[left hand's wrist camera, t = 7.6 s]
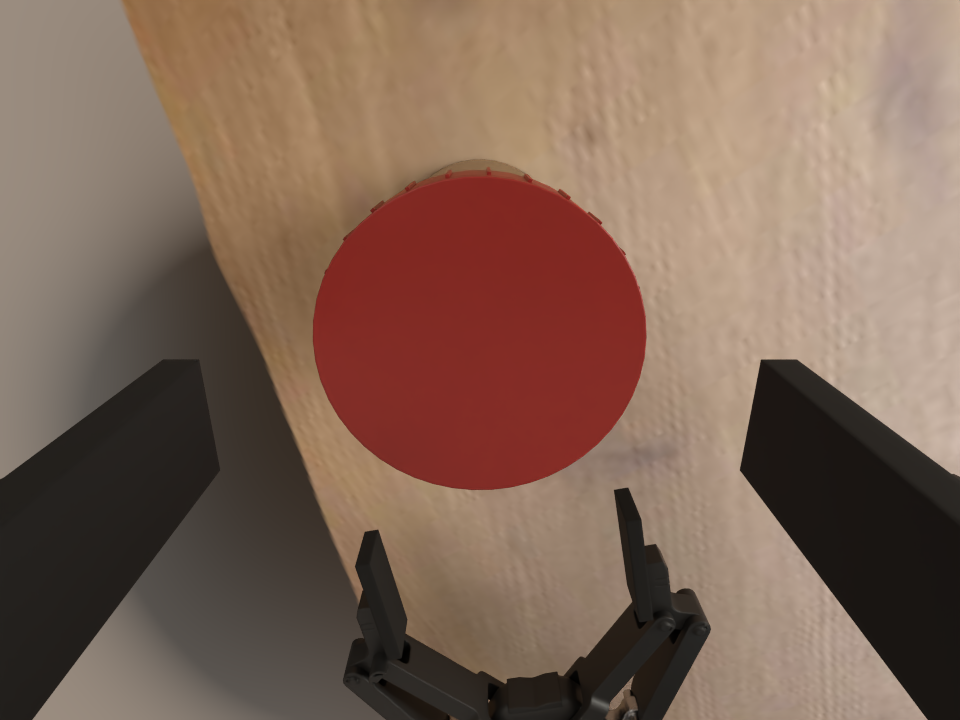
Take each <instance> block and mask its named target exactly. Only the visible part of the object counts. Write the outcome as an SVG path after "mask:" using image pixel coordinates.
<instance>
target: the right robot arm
mask: <svg viewBox="0 0 960 720" xmlns="http://www.w3.org/2000/svg"><path fill="white" fill-rule="evenodd" d="M614 494H615V501H616V508H617V515H618V522H619V529H620V537H621V544H622V551H623V558H624V565H625V572H626V580H627V586H628V589H629V592H630V595H631V598H632V601H633V602H632V603H631V604H630V605H629V606H628V608H627V609H626V610H625V611H624V612H623V614H622V615H621V616H620V617H619V618H618V620H617V621H616V622H615V623H614V625H613V626H612V627H611V628H610V629H609V631H608V632H607V633H606V634H605V635H604V637H603V638H602V639H601V640H600V641H599V643H598V644H597V645H596V646H595V647H594V649H593V650H592V651H591V652H590V653H589V655H588V656H587V657H586V658H584V657H579V658H578V659H577V660H576V662H575V663H574V664H573V665H572V666H571V668H570V669H569V670H568V671H567V673H566V674H565V675H564V676H558V672H552V673H545V674H542V675H539V676H536V677H534V678H524V677H518V678H511V679H507V683H506V684H504V683H502V682H501V681H499V680H497V679H496V678H494V677H492V676H490V675H489V674H487V673H485V672H483V671H480V672H479V673H478V674H475V673H473V672H471V671H469V670H468V669H466V668H464V667H462V666H461V665H459V664H457V663H456V662H454V661H452V660H450V659H449V658H447V657H445V656H443V655H442V654H440V653H438V652H436V651H435V650H433V649H431V648H429V647H428V646H426V645H424V644H423V643H421V642H419V641H417V640H416V639H414V638H412V637H410V636H409V635H407V634H405V632H406V625H407V617H406V614H405V611H404V608H403V604H402V601H401V598H400V595H399V592H398V589H397V586H396V583H395V580H394V577H393V574H392V571H391V568H390V564H389V561H388V558H387V555H386V552H385V549H384V546H383V543H382V540H381V537H380V534H379V531H378V530H373V531H367V532H365V533H364V537H363V540H362V544H361V547H360V551H359V554H358V558H357V561H356V565H355V568H356V571H357V573H358V576H359V579H360V582H361V585H362V588H363V590H364V591H362V595H361V599H360V603H359V607H358V611H357V620H358V623H359V625H360V628H361V630H362V634H363V636H364V639H363V638H358V639H356V640H354V641H353V643H352V646H351V650H350V654H349V658H348V662H347V666H346V670H345V674H344V678H343V683H344V684H345V686H346V687H348V688H349V689H350V690H351V691H352V692H354V693H355V694H356V695H357V696H358V697H360V698H361V699H362V700H363V701H364V702H366V703H367V704H368V705H369V706H370V707H372V708H373V709H374V710H375V711H376V712H378V713H379V714H380V715H381V716H382V717H384V718H385V719H386V720H457V719H458V720H662V719H663V717H664V715H665V714H666V712H667V710H668V708H669V706H670V704H671V703H672V701H673V699H674V697H675V695H676V694H677V692H678V690H679V688H680V686H681V684H682V683H683V681H684V679H685V677H686V675H687V673H688V672H689V670H690V668H691V666H692V664H693V662H694V661H695V659H696V657H697V655H698V653H699V652H700V650H701V648H702V646H703V644H704V642H705V641H706V639H707V637H708V635H709V633H710V630H711V628H710V625H709V623H708V621H707V618H706V616H705V614H704V612H703V610H702V607H701V605H700V603H699V601H698V599H697V597H696V594H695V592H694V591H693V590H691V589H681V590H679V591H677V593H672V592H670V584H669V574H668V568H667V566H666V563H665V561H664V559H663V556H662V554H661V551H660V550H659V548H658V547H657V545H656V544H653V545H647V546H644V538H643V530H642V522H641V518H640V515H639V513H638V510H637V508H636V505H635V503H634V501H633V498H632V496H631V493H630V491H629V488H623V489H617V490H614ZM634 674H635V675H634ZM633 676H634V678H633V681H632V685H631V690H630V689H627V690H625V691H624V692H623V695H624V699H623V700H622V701H621V704H620V706H619V707H618V708H616V709H614V710H609V704H610V702H611V700H612V699H613V698H614V697H615V696H616V695H617V694H618V692H619V691H620V690H621V689H622V688H623V687H624V686H625V685H626V683H627V682H628V681H629V680H630V679H631V678H632V677H633ZM488 699H489V700H490V701H489V703H488Z"/></svg>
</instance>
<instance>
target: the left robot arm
mask: <svg viewBox="0 0 960 720" xmlns="http://www.w3.org/2000/svg"><path fill="white" fill-rule="evenodd" d="M219 471H220V467H219V462H218V457H217V452H216V447H215V441H214V436H213V431H212V425H211V420H210V415H209V410H208V405H207V399H206V394H205V389H204V384H203V378H202V373H201V368H200V363H199V360H162V361H161V362H159V363H158V364H157V365H155V366H154V367H152V368H151V369H150V370H148V371H147V372H146V373H144V374H143V375H142V376H140V377H139V378H138V379H136V380H135V381H134V382H132V383H131V384H130V385H128V386H127V387H125V388H124V389H123V390H121V391H120V392H119V393H117V394H116V395H115V396H113V397H112V398H111V399H109V400H108V401H107V402H105V403H104V404H103V405H101V406H100V407H98V408H97V409H96V410H94V411H93V412H92V413H90V414H89V415H88V416H86V417H85V418H84V419H82V420H81V421H80V422H78V423H77V424H76V425H74V426H73V427H71V428H70V429H69V430H67V431H66V432H65V433H63V434H62V435H61V436H59V437H58V438H57V439H55V440H54V441H53V442H51V443H50V444H49V445H47V446H46V447H45V448H43V449H42V450H41V451H39V452H38V453H36V454H35V455H34V456H32V457H31V458H30V459H28V460H27V461H26V462H24V463H23V464H22V465H20V466H19V467H18V468H16V469H15V470H14V471H12V472H11V473H9V474H8V475H7V476H5V477H4V478H2V479H0V720H32V719H33V718H34V717H35V715H36V714H37V713H38V711H39V710H40V709H41V707H42V706H43V705H44V703H45V702H46V701H47V699H48V698H49V697H50V695H51V694H52V693H53V691H54V690H55V689H56V688H57V686H58V685H59V684H60V682H61V681H62V680H63V678H64V677H65V676H66V674H67V673H68V672H69V670H70V669H71V668H72V666H73V665H74V664H75V662H76V661H77V660H78V658H79V657H80V656H81V654H82V653H83V652H84V650H85V649H86V648H87V646H88V645H89V644H90V642H91V641H92V640H93V638H94V637H95V636H96V634H97V633H98V632H99V630H100V629H101V628H102V626H103V625H104V624H105V622H106V621H107V620H108V618H109V617H110V616H111V614H112V613H113V612H114V610H115V609H116V608H117V606H118V605H119V604H120V602H121V601H122V600H123V598H124V597H125V596H126V595H127V593H128V592H129V591H130V589H131V588H132V587H133V585H134V584H135V583H136V581H137V580H138V579H139V577H140V576H141V575H142V573H143V572H144V571H145V569H146V568H147V567H148V565H149V564H150V563H151V561H152V560H153V559H154V557H155V556H156V555H157V553H158V552H159V551H160V549H161V548H162V547H163V545H164V544H165V543H166V541H167V540H168V539H169V537H170V536H171V535H172V533H173V532H174V531H175V529H176V528H177V527H178V525H179V524H180V523H181V521H182V520H183V519H184V517H185V516H186V515H187V513H188V512H189V511H190V509H191V508H192V507H193V505H194V504H195V503H196V501H197V500H198V499H199V498H200V496H201V495H202V494H203V492H204V491H205V490H206V488H207V487H208V486H209V484H210V483H211V482H212V480H213V479H214V478H215V476H216V475H217V474H218V472H219ZM740 471H741V472H742V474H743V475H744V476H745V478H746V479H747V480H748V482H749V483H750V484H751V486H752V487H753V488H754V490H755V491H756V492H757V494H758V495H759V496H760V498H761V499H762V500H763V502H764V503H765V504H766V505H767V507H768V508H769V509H770V511H771V512H772V513H773V515H774V516H775V517H776V519H777V520H778V521H779V523H780V524H781V525H782V527H783V528H784V529H785V531H786V532H787V533H788V535H789V536H790V537H791V539H792V540H793V541H794V543H795V544H796V545H797V547H798V548H799V549H800V551H801V552H802V553H803V555H804V556H805V557H806V559H807V560H808V561H809V563H810V564H811V565H812V567H813V568H814V569H815V571H816V572H817V573H818V575H819V576H820V577H821V579H822V580H823V581H824V583H825V584H826V585H827V587H828V588H829V589H830V591H831V592H832V593H833V595H834V596H835V597H836V598H837V600H838V601H839V602H840V604H841V605H842V606H843V608H844V609H845V610H846V612H847V613H848V614H849V616H850V617H851V618H852V620H853V621H854V622H855V624H856V625H857V626H858V628H859V629H860V630H861V632H862V633H863V634H864V636H865V637H866V638H867V640H868V641H869V642H870V644H871V645H872V646H873V648H874V649H875V650H876V652H877V653H878V654H879V656H880V657H881V658H882V660H883V661H884V662H885V664H886V665H887V666H888V668H889V669H890V670H891V672H892V673H893V674H894V676H895V677H896V678H897V680H898V681H899V682H900V684H901V685H902V686H903V688H904V689H905V690H906V692H907V693H908V694H909V695H910V697H911V698H912V699H913V701H914V702H915V703H916V705H917V706H918V707H919V709H920V710H921V711H922V713H923V714H924V715H925V717H926V718H927V719H928V720H960V477H959V476H957V475H955V474H951V473H949V472H948V471H947V470H945V469H944V468H942V467H941V466H940V465H938V464H937V463H936V462H934V461H933V460H932V459H930V458H929V457H928V456H926V455H925V454H924V453H922V452H921V451H920V450H918V449H917V448H915V447H914V446H913V445H911V444H910V443H909V442H907V441H906V440H905V439H903V438H902V437H901V436H899V435H898V434H897V433H895V432H894V431H893V430H891V429H890V428H889V427H887V426H886V425H884V424H883V423H882V422H880V421H879V420H878V419H876V418H875V417H874V416H872V415H871V414H870V413H868V412H867V411H866V410H864V409H863V408H862V407H860V406H859V405H857V404H856V403H855V402H853V401H852V400H851V399H849V398H848V397H847V396H845V395H844V394H843V393H841V392H840V391H839V390H837V389H836V388H835V387H833V386H832V385H830V384H829V383H828V382H826V381H825V380H824V379H822V378H821V377H820V376H818V375H817V374H816V373H814V372H813V371H812V370H810V369H809V368H808V367H806V366H805V365H803V364H802V363H801V362H799V361H798V360H761V363H760V368H759V373H758V378H757V384H756V389H755V394H754V399H753V404H752V410H751V415H750V420H749V425H748V431H747V436H746V441H745V446H744V452H743V457H742V462H741V467H740Z"/></svg>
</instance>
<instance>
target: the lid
mask: <svg viewBox="0 0 960 720" xmlns="http://www.w3.org/2000/svg"><path fill="white" fill-rule="evenodd" d="M570 198H571V197H570V196H569V195H567V194H566V193H565V192H564V191H562V190H561V189H559V191H556V190H555V189H553V188H551V187H550V186H547V185H545V184H543V183H540V182H538V181H535V180H533V179H532V178H531V177H530V176H529V175H528V174H524V176H520V175H516V174H512V173H508V172H500V171H492V170H491V169H490V167H487V168H486V170H466V171H459V172H453V173H452V170H448V171H447V173H446V174H443V175H439V176H436V177H432V178H429V179H426V180H423V181H421V182H419V183H417V184H416V182H415V181H414V182H412V183H410V184H409V185H408V186H407V187H406V188H405V189H404V190H403V191H401V192H400V193H398V194H397V195H395V196H393V197H392V198H390V199H389V200H387V201H386V202H385V203H384V201H381V202H380V203H379V204H378V205H376V206H375V207H374V208H372V209H371V210H370V211H371V212H372V214H371V215H369V216H368V217H367V218H366V219H365V220H364V221H362V222H361V223H360V224H359V225H358V226H357V227H356V228H355V229H354V230H352V231H351V232H350V233H349V234H348V235H346V236H345V237H344V239H343V240H344V242H343V244H342V245H341V247H340V248H339V250H338V251H337V253H336V254H335V256H334V257H333V259H332V261H331V263H330V265H329V267H328V269H327V270H326V271H325V276H324V278H323V280H322V283H321V287H320V290H319V293H318V296H317V300H316V306H315V312H314V319H313V345H314V353H315V361H316V365H317V369H318V373H319V376H320V380H321V383H322V385H323V388H324V390H325V392H326V395H327V397H328V399H329V401H330V403H331V405H332V406H333V408H334V410H335V412H336V413H337V415H338V417H339V418H340V419H341V421H342V422H343V423H344V425H345V426H346V427H347V429H348V430H349V431H350V432H351V433H352V434H353V436H354V437H355V438H356V439H357V440H358V441H359V442H360V443H361V444H362V445H363V446H364V447H366V448H367V449H368V450H369V451H371V452H372V453H373V454H374V455H376V456H377V457H378V458H379V459H381V460H382V461H384V462H386V463H387V464H389V465H391V466H392V467H394V468H395V469H397V470H399V471H401V472H404V473H406V474H408V475H410V476H412V477H414V478H417V479H420V480H423V481H426V482H429V483H432V484H436V485H441V486H446V487H450V488H458V489H468V490H493V489H501V488H509V487H514V486H518V485H523V484H527V483H531V482H533V481H536V480H539V479H542V478H545V477H547V476H550V475H552V474H554V473H556V472H558V471H560V470H562V469H564V468H566V467H567V466H569V465H570V464H572V463H574V462H575V461H577V460H578V459H580V458H581V457H583V456H584V455H585V454H586V453H588V452H589V451H590V450H591V449H592V448H594V447H595V446H596V445H597V444H598V443H599V442H600V441H601V440H602V439H603V438H604V437H605V436H606V435H607V434H608V433H609V431H610V430H611V429H612V428H613V426H614V425H615V424H616V422H617V421H618V420H619V418H620V417H621V415H622V414H623V412H624V411H625V409H626V407H627V405H628V403H629V401H630V400H631V398H632V396H633V393H634V391H635V388H636V386H637V383H638V380H639V378H640V374H641V370H642V366H643V362H644V357H645V347H646V316H645V310H644V305H643V300H642V295H641V292H640V287H639V286H638V283H637V280H636V277H635V275H634V273H633V271H632V269H631V267H630V265H629V263H628V261H627V259H626V257H625V255H626V254H625V252H624V251H623V250H622V249H621V248H620V247H618V245H617V244H616V242H615V241H614V239H613V238H612V237H611V236H610V235H609V234H608V233H607V231H606V230H605V229H604V228H603V227H602V226H601V224H602V222H601V221H600V220H599V219H598V218H596V217H595V216H594V215H593V214H591V213H590V212H588V213H586V212H585V211H584V210H583V209H581V208H580V207H579V206H578V205H576V204H575V203H574V202H573V201H571V200H570Z"/></svg>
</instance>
